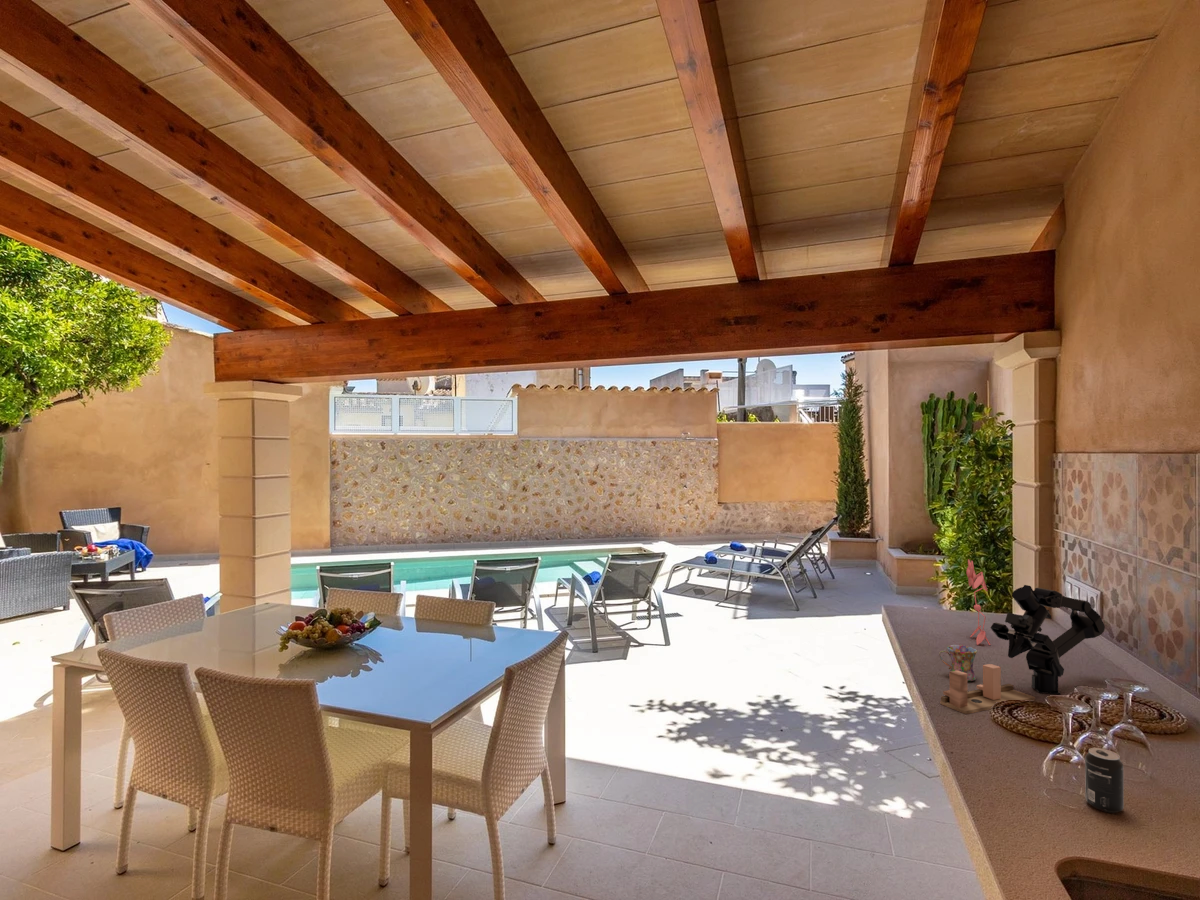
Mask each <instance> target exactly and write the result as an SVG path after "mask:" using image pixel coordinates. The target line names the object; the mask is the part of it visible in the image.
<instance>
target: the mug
mask: <svg viewBox="0 0 1200 900" xmlns="http://www.w3.org/2000/svg"><path fill="white" fill-rule="evenodd" d="M947 650H948V651H947ZM947 650H940V651H939V653H938V657H939V658H940V660H941V661H942V663H944V664H945V665H946V666H948V670H950V671H956V670H958V671H961V672H964V673H967V682H972V681H976V679H977V676H976V675H975V672H974V660H975V657H976V655H977V653H978V650H977V649H976V648H974V647H972V646H968V645H965V646H963V645H962V644H961V645H960V644H952V645H948V646H947ZM941 653H946V654H947V655H948V656H949V658H950V660H951V661H950V662H951V665H950V664H948V663H947V662H946V661H945V660H943V658H942V657H941ZM950 671H949V672H950ZM948 676H949V677H950V675H949V674H948Z"/></svg>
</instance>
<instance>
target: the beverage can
mask: <svg viewBox="0 0 1200 900" xmlns="http://www.w3.org/2000/svg"><path fill="white" fill-rule="evenodd" d="M1120 757H1121V756H1120V755H1119V754H1118V753H1116V752H1114V751H1113V750H1112V751H1111V750H1109V749H1105V748H1099V747H1092V748H1088V753H1086V754H1085V757H1084V783H1085V784H1084V785H1085V786H1084V789H1085V790H1084V791H1085V792H1084V794H1085V796H1084V797H1085V800H1086V802H1087V803H1088V804H1089V805H1090V806H1092V807H1093V808H1094V809H1097V810H1099V811H1101V812H1104V813H1109V814H1110V813H1111V814H1115V813H1118V812H1121V811H1123V810H1124V809H1125V808H1124V806H1125V805H1124V803H1125V802H1124V799H1125V798H1124V797H1125V794H1124V791H1125V789H1124V785H1125V784H1124V783H1125V782H1124V781H1125V780H1124V779H1125V778H1124V770H1125V769H1124V768H1125V767H1124V763H1123V762H1122V761H1121V758H1120Z"/></svg>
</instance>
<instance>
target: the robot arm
mask: <svg viewBox="0 0 1200 900" xmlns="http://www.w3.org/2000/svg"><path fill="white" fill-rule="evenodd" d="M1011 595H1012V598H1013V600H1014V601H1015V603H1016V604H1017V605H1018V606H1019V607H1020V609H1021V610H1022V611H1024V613H1023V614H1022V615H1019V614H1015V613H1011V612H1007V613H1006V617H1005V620H1004V622H1005V624H1003V623H999V622H993V623H992V624H991V626H990V627H989V628H990V629H991V631H992V632H993V633H994V634H995V635H996V637H997V638H998V639H1000V640H1005V641H1008V651H1007V657H1008V658H1010V659H1013V658H1015V657H1017V656H1019V655H1021V654H1023V653H1026V654H1025V660H1026V662H1027V667H1028V670H1031V671H1033V674H1031V688H1033V689H1034V690H1035V691H1036V692H1038V693H1040V694H1051V695H1061V692H1060V691H1059V678H1060V677H1062V676H1063V675H1064V671H1065V668H1064V667H1063V666H1062V664H1061V662H1060V661H1061V659H1060V658H1062V656H1064V655H1066V653H1068V652H1069V651H1070V650H1071V649H1073V648H1074V647H1076V646H1077V645H1078V644H1080V643H1081V642H1082V641H1084V640H1086V639H1087V640H1088V639H1095V638H1098V637H1100V636H1102V635H1103V633H1104V632H1105V629H1106V627H1105V624H1104V621H1103V619H1102V616H1101V615H1100V614H1099V613H1098V612H1097V611H1096V610H1095V609H1094V608H1093V607H1092V604H1091V602H1090V601H1087V600H1083V599H1079V598H1072V597H1068V596H1064V595H1063V594H1062V593H1061V592H1059V591H1057V590H1053V589H1052V590H1051V589H1047V588H1043V587H1036V588H1034V589H1033V587H1032V586H1031V585H1027V584H1023V587H1019V588H1016V589H1015V590H1013V592H1012V593H1011ZM1046 607H1047V608H1053V609H1057V608H1066V609H1070V610H1071V613H1070V615H1069V618H1070V620H1071V622H1070V623H1071V627H1070V628H1069V629H1068V630H1066V631H1064V632H1063V633H1062V634H1060V635H1059V636H1058V637H1056V638H1055V639H1054V640H1052V639H1051V638H1050V636H1049V635H1047V634H1044V633H1041V632H1042V630H1043V629H1042V625H1043V623H1044V621H1045V620H1046V619H1049V620H1051V618H1052V615H1051V612H1050V610H1049V609H1047V608H1046ZM1078 612H1080V613H1084V614H1085V615H1081V614H1079V613H1078ZM1006 623H1008V624H1009V625H1010V628H1009V627H1008V626H1007V625H1006Z"/></svg>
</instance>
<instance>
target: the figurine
mask: <svg viewBox="0 0 1200 900" xmlns="http://www.w3.org/2000/svg"><path fill="white" fill-rule="evenodd" d="M965 572H966V573H965V574H966V576H967V579H968V586H969V587H972V590H974V589H975V591H974V592H973V596H974V602H975V604H974V605H973V609H974V610H975V611H977V612H978V613H977V621H978V622H977V628H976V629H975V630H974V631H973V632H972V634H971V635H970V636H969V638H972V637H973V636H974V635H975V634H976V633H978V631H979V633H978V634H977V636H976V645H977V646H979V645H981V643H982V642H983V641H986V642H987V644H988V646H989V645H991V643H990V642H989V639H988V638H987V635H986V631H985V630H984V628H985V624H986V615H984V614H983V613H982V612H981V610H982V607H981V605H980V604H977V596H976V593H977V592H979V591H981V590H985V592H988V587H987V584H986V581H985V578H984V573H983V571H980V572H979V573H978V574H976V571H975V566H974V561H973V560H970V559H969V558H968V559H967V568H966V571H965ZM979 586H981V587H980V588H979V589H977V588H978V587H979ZM976 589H977V590H976ZM980 614H981V615H982V616H983V617H984V619H983V624H982V625H983V626H982V625H980ZM981 627H982V628H981ZM985 639H986V640H985Z"/></svg>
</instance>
